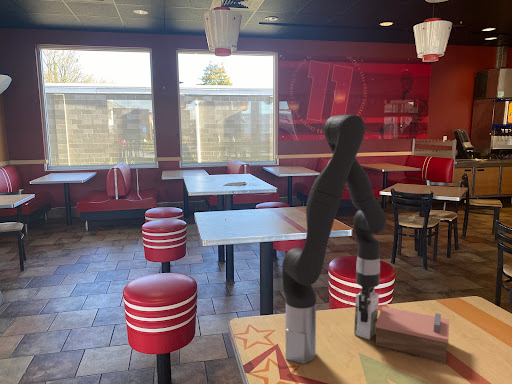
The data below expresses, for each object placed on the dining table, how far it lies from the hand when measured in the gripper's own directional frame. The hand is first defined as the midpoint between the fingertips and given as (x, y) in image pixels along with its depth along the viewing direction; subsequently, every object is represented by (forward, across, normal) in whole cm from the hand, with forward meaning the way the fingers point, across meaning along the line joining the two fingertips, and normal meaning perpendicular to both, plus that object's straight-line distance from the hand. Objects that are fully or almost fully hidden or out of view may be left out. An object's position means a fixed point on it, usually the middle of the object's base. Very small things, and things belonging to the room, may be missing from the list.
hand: (366, 317), depth 128 cm
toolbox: (+6, 0, +14) cm, 16 cm away
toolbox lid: (-1, 0, +14) cm, 15 cm away
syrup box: (+6, 0, 0) cm, 6 cm away
